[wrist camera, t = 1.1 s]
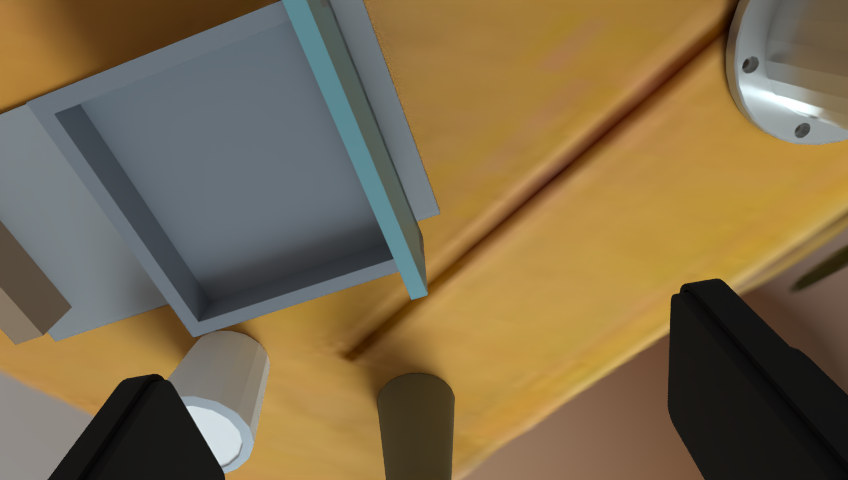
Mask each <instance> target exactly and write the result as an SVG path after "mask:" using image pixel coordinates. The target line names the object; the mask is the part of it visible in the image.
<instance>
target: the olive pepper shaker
mask: <svg viewBox="0 0 848 480" xmlns="http://www.w3.org/2000/svg"><path fill="white" fill-rule="evenodd" d="M454 402H455V397H454V394H453V392H452V389H451V388H450V387H449V386H448V385H447V384H446V383H445V382H444V381H443V380H441V379H439V378H437V377H435V376H433V375H428V374H424V373H411V374H406V375H402V376H399V377H396V378H395V379H393V380H391V381H390V382H388V383H387V384H386V385H385V386H384V387H383V389H382V390H381V391H380V394H379V396H378V399H377V403H378V414H379V423H380V431H381V440H382V449H383V457H384V466H385V475H386V480H451V475H452V451H453V428H454Z"/></svg>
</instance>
